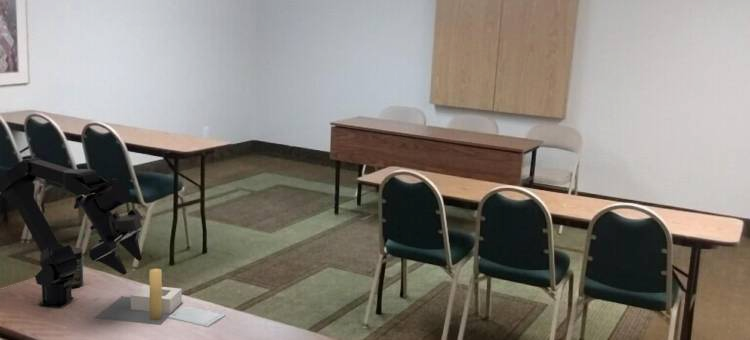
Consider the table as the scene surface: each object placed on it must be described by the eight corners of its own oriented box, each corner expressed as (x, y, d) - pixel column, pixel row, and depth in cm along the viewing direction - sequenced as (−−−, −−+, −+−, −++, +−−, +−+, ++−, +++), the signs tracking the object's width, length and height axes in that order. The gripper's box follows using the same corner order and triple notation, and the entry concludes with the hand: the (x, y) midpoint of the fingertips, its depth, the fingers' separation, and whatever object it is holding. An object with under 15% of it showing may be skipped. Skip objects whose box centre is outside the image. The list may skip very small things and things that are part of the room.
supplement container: (88, 284, 214) (87, 250, 212) (68, 291, 209) (67, 256, 207) (74, 279, 218) (73, 245, 216) (53, 285, 212) (52, 251, 210)
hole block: (130, 309, 197) (130, 295, 196) (143, 298, 205) (143, 284, 204) (170, 313, 196) (170, 299, 195) (181, 302, 204) (181, 288, 203)
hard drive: (167, 316, 193) (208, 325, 189) (186, 305, 200) (225, 314, 196) (167, 322, 193) (208, 331, 189) (186, 311, 201) (225, 319, 196)
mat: (94, 319, 191) (94, 317, 191) (121, 297, 206) (121, 296, 206) (160, 326, 189) (160, 324, 189) (183, 304, 204) (183, 302, 204)
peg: (147, 319, 192) (147, 271, 189) (152, 314, 194) (152, 268, 192) (158, 320, 191) (158, 272, 189) (163, 316, 194) (163, 269, 191)
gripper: (108, 214, 179) (142, 268, 181) (141, 192, 196) (171, 241, 199) (72, 233, 181) (107, 286, 184) (108, 209, 199) (138, 258, 202)
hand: (133, 266), depth 192 cm, fingers open, 9 cm apart
